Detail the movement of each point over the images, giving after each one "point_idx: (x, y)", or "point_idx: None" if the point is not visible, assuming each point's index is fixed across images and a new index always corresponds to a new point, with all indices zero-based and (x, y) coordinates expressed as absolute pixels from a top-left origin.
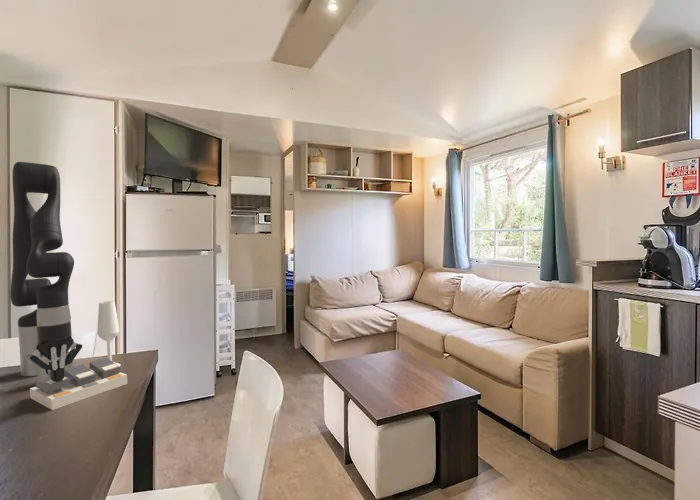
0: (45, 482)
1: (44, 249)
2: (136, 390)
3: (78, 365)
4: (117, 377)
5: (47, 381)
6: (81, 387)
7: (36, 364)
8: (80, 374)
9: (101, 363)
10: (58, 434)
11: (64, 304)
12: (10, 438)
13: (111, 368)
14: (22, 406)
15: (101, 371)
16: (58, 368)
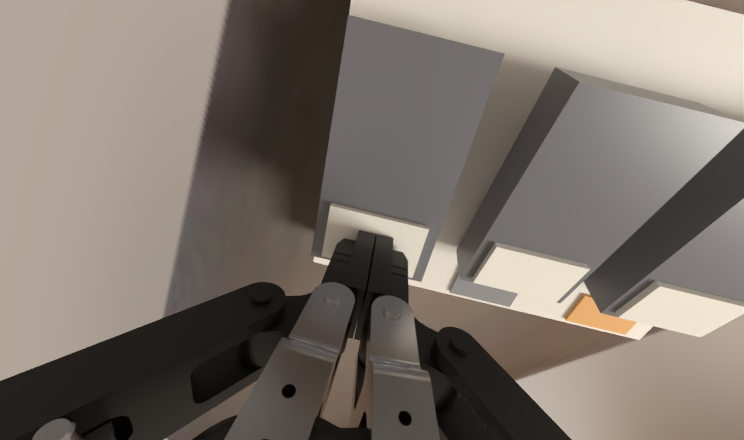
0: (185, 436)
1: None
2: (535, 366)
3: (710, 112)
4: (597, 325)
5: (353, 175)
6: (453, 269)
7: (167, 322)
8: (516, 261)
9: None
10: None
11: None
12: (180, 286)
13: (657, 325)
14: (290, 52)
15: (617, 291)
16: (364, 324)
